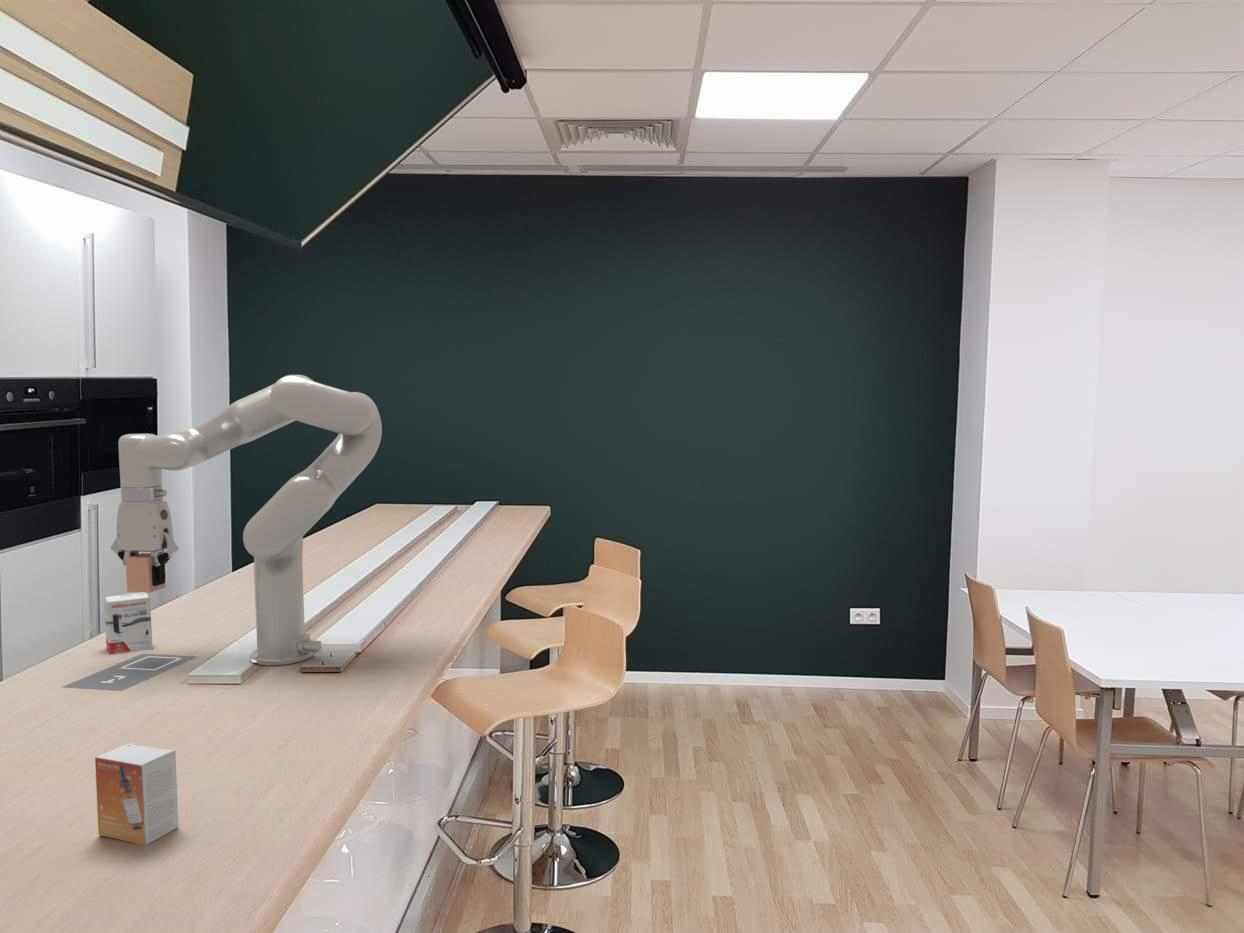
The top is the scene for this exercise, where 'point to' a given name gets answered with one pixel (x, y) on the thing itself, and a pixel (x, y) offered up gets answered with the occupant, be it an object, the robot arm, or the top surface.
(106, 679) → the mat
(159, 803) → the small box
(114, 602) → the ink box
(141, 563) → the block
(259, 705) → the top surface
